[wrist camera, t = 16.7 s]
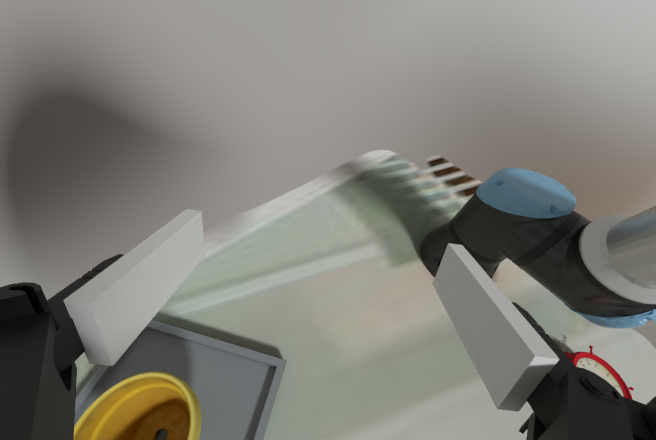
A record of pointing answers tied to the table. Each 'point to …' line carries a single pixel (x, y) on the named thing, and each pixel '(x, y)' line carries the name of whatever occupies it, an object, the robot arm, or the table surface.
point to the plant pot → (142, 410)
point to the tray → (200, 379)
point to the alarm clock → (600, 370)
